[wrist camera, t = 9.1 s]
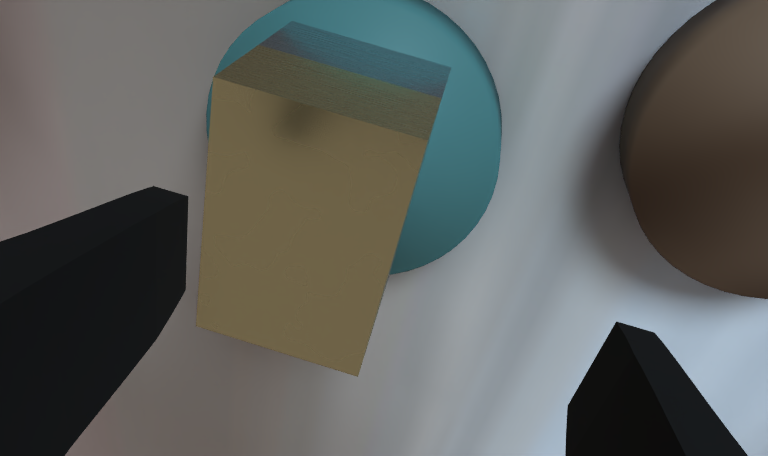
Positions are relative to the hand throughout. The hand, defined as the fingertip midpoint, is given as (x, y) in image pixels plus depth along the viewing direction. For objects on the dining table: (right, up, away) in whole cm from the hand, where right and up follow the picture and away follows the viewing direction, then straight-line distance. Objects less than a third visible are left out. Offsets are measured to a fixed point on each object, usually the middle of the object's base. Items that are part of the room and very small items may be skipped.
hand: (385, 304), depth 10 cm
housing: (-1, +3, +8) cm, 9 cm away
